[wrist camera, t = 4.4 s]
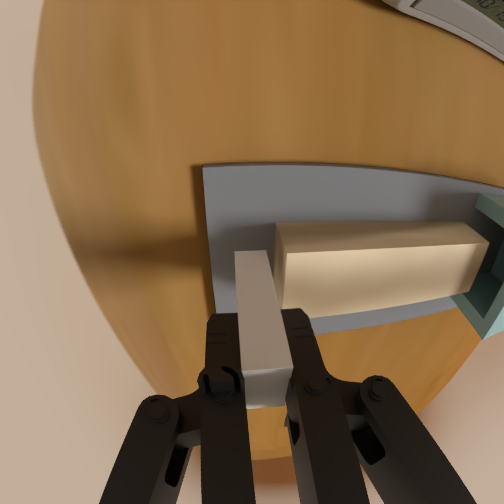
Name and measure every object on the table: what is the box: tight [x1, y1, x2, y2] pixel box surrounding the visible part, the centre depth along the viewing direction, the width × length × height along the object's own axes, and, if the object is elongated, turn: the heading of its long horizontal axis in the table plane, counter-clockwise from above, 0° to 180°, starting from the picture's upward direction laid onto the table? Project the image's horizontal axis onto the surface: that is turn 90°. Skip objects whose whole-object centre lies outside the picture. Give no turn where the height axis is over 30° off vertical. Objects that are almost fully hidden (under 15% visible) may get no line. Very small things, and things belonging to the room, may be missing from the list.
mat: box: [203, 163, 504, 335], centre depth 16 cm, size 12×27×1 cm, turn 90°
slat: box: [273, 221, 489, 318], centre depth 14 cm, size 4×14×3 cm, turn 90°
